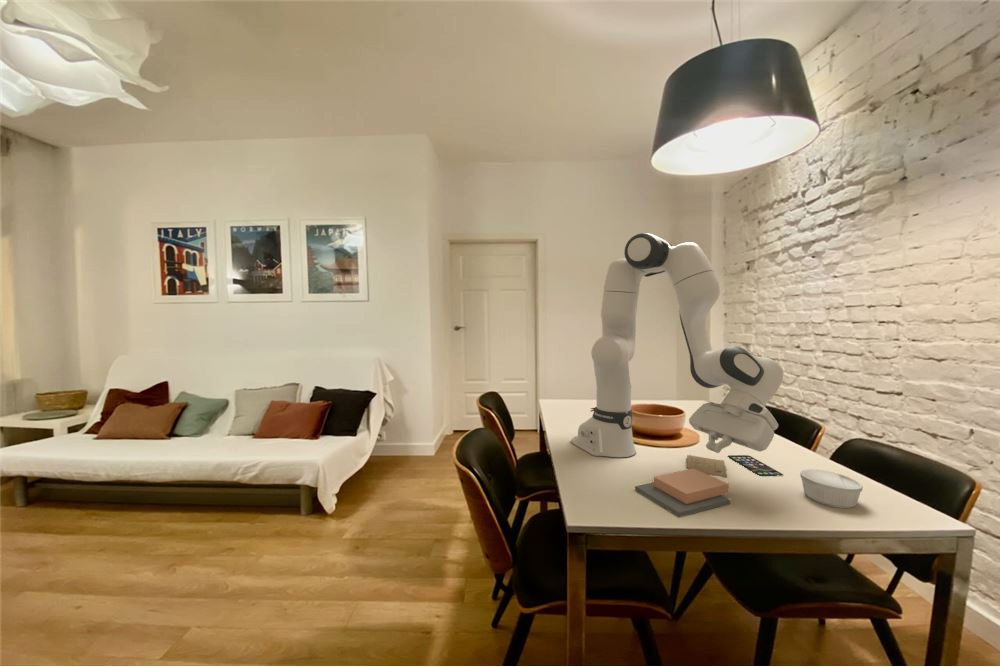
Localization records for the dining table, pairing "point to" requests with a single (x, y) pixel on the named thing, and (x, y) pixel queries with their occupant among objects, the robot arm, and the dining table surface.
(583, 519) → the dining table surface
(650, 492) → the mat
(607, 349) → the robot arm
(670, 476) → the tile
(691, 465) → the clay tablet
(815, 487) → the ramekin
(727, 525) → the dining table surface
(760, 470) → the smartphone
